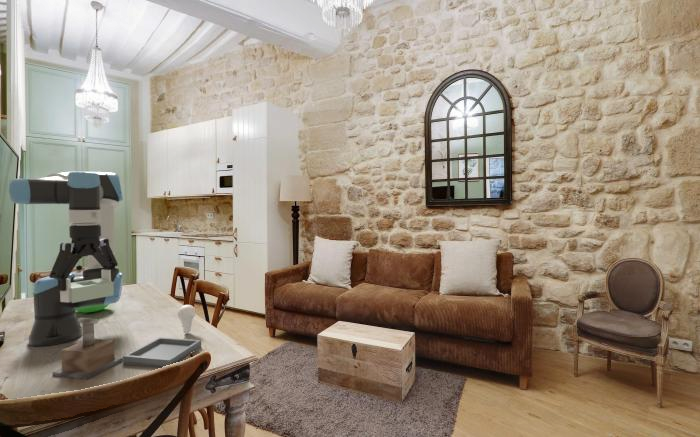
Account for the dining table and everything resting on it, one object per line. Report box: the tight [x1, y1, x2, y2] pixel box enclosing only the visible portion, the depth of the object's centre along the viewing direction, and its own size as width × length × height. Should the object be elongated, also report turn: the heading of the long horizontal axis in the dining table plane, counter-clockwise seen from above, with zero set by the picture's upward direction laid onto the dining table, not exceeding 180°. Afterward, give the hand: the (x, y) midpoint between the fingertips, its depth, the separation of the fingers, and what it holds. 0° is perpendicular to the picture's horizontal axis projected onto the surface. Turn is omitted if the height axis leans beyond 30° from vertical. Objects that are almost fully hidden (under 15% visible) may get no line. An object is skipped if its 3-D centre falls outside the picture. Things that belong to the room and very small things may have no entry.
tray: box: [122, 336, 202, 369], centre depth 115 cm, size 16×16×2 cm
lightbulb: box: [177, 304, 196, 335], centre depth 135 cm, size 6×6×11 cm
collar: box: [71, 278, 114, 303], centre depth 105 cm, size 10×10×4 cm
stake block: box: [52, 317, 123, 380], centre depth 106 cm, size 12×12×15 cm
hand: (87, 295), depth 106 cm, fingers closed on collar, 13 cm apart
